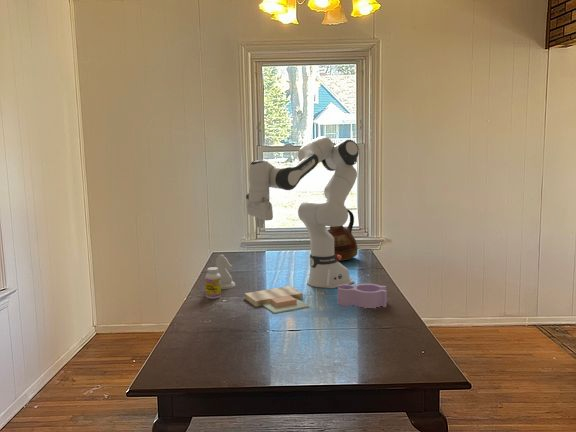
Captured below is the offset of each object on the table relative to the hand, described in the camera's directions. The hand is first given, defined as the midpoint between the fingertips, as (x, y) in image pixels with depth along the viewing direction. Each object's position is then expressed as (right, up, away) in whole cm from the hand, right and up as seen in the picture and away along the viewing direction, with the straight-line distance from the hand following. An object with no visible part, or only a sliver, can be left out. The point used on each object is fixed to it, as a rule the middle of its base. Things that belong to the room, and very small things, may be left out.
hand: (260, 227), depth 226 cm
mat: (+11, -32, -17) cm, 38 cm away
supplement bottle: (-20, -31, -3) cm, 37 cm away
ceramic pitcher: (+41, -20, +60) cm, 76 cm away
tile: (+11, -31, -15) cm, 36 cm away
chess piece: (-17, -28, +12) cm, 35 cm away
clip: (+43, -32, -14) cm, 55 cm away
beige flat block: (+6, -31, -7) cm, 32 cm away
